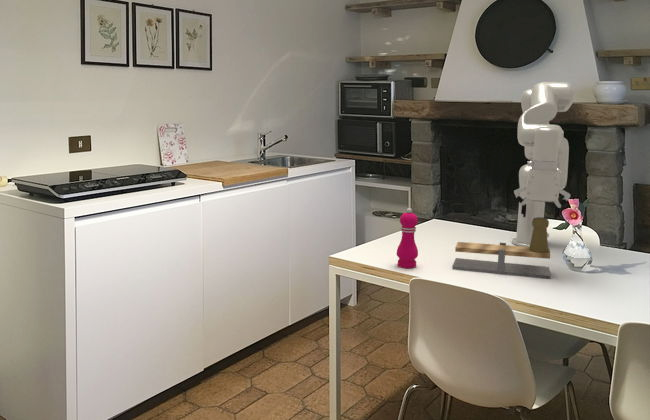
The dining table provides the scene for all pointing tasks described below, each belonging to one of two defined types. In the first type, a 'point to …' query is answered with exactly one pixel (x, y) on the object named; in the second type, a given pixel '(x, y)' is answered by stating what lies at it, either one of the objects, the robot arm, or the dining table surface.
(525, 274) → the stand
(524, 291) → the dining table surface
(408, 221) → the pepper mill
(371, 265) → the dining table surface
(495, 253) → the beam
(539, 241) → the cork
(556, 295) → the dining table surface
